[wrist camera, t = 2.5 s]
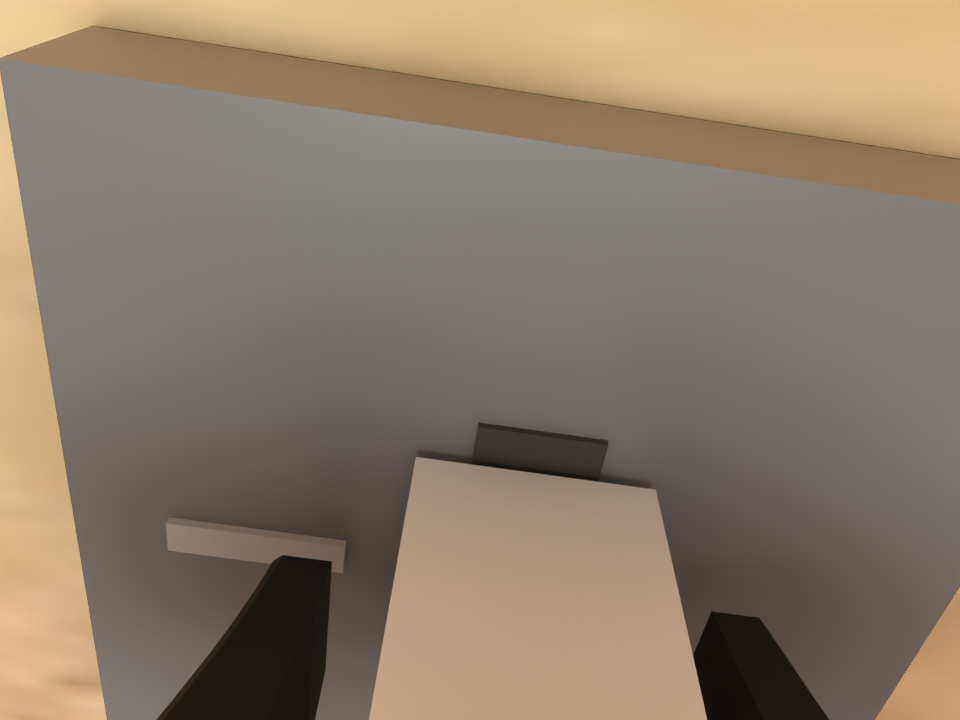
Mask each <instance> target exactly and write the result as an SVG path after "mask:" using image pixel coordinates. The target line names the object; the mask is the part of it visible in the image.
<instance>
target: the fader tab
mask: <svg viewBox="0 0 960 720" xmlns="http://www.w3.org/2000/svg"><path fill="white" fill-rule="evenodd" d="M369 720H707V716H706V712H705V707H704V703H703V698H702V694H701V689H700V685H699V681H698V676H697V672H696V667H695V663H694V658H693V654H692V649H691V645H690V640H689V636H688V631H687V627H686V622H685V618H684V613H683V609H682V605H681V600H680V596H679V591H678V587H677V582H676V578H675V573H674V569H673V564H672V560H671V555H670V551H669V546H668V542H667V537H666V533H665V529H664V524H663V520H662V515H661V511H660V506H659V502H658V497H657V493H656V490H655V489H647V488H640V487H633V486H625V485H618V484H611V483H603V482H596V481H589V480H581V479H574V478H567V477H560V476H552V475H545V474H538V473H530V472H523V471H516V470H508V469H501V468H494V467H486V466H479V465H472V464H464V463H457V462H450V461H442V460H435V459H428V458H420V457H416V459H415V464H414V470H413V475H412V481H411V487H410V492H409V498H408V503H407V509H406V515H405V520H404V526H403V532H402V537H401V543H400V548H399V554H398V560H397V565H396V571H395V576H394V582H393V588H392V593H391V599H390V604H389V610H388V616H387V621H386V627H385V632H384V638H383V644H382V649H381V655H380V660H379V666H378V672H377V677H376V683H375V688H374V694H373V700H372V705H371V711H370V716H369Z"/></svg>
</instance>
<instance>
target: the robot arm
mask: <svg viewBox="0 0 960 720" xmlns="http://www.w3.org/2000/svg"><path fill="white" fill-rule="evenodd" d="M331 570H332V561H325V560H317V559H309V558H302V557H294V556H287V555H282V556H280V557H278V558H277V559H275V560H273V562H272V563H271V565H270V567H269V568H268V570H267V572H266V573H265V575H264V577H263V578H262V580H261V581H260V583H259V584H258V586H257V587H256V589H255V591H254V592H253V594H252V595H251V597H250V598H249V600H248V601H247V602H246V604H245V605H244V607H243V608H242V610H241V611H240V613H239V614H238V615H237V617H236V618H235V620H234V621H233V622H232V624H231V625H230V626H229V628H228V629H227V631H226V632H225V633H224V635H223V636H222V637H221V639H220V640H219V641H218V643H217V644H216V645H215V647H214V648H213V649H212V651H211V652H210V653H209V655H208V656H207V657H206V658H205V660H204V661H203V662H202V663H201V665H200V666H199V667H198V668H197V670H196V671H195V672H194V674H193V675H192V676H191V677H190V679H189V680H188V681H187V682H186V684H185V685H184V686H183V687H182V689H181V690H180V691H179V692H178V694H177V695H176V696H175V697H174V699H173V700H172V701H171V702H170V704H169V705H168V706H167V707H166V709H165V710H164V711H163V712H162V713H161V714H160V716H159V717H158V718H157V719H156V720H315V718H316V713H317V708H318V703H319V699H320V694H321V689H322V684H323V680H324V675H325V670H326V653H327V636H328V620H329V603H330V587H331ZM693 658H694V663H695V667H696V672H697V676H698V681H699V685H700V689H701V694H702V698H703V703H704V707H705V712H706V716H707V720H829V718H828V717H827V715H826V714H825V713H824V711H823V710H822V708H821V707H820V705H819V704H818V702H817V701H816V699H815V698H814V697H813V695H812V694H811V692H810V691H809V689H808V688H807V686H806V685H805V683H804V682H803V680H802V679H801V678H800V676H799V675H798V673H797V672H796V670H795V669H794V667H793V666H792V664H791V663H790V661H789V660H788V658H787V657H786V655H785V654H784V652H783V651H782V650H781V648H780V647H779V645H778V644H777V642H776V641H775V639H774V638H773V636H772V635H771V634H770V632H769V631H768V629H767V628H766V626H765V625H764V623H763V622H762V621H761V619H760V618H758V617H751V616H743V615H735V614H728V613H720V612H713V611H711V614H710V616H709V618H708V621H707V623H706V626H705V628H704V630H703V633H702V635H701V637H700V640H699V642H698V645H697V647H696V649H695V652H694V654H693Z"/></svg>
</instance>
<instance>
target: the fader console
mask: <svg viewBox="0 0 960 720" xmlns="http://www.w3.org/2000/svg"><path fill="white" fill-rule="evenodd" d="M0 73H1V79H2V85H3V91H4V97H5V103H6V109H7V115H8V121H9V127H10V133H11V139H12V145H13V152H14V158H15V164H16V170H17V176H18V182H19V188H20V194H21V200H22V206H23V212H24V218H25V224H26V230H27V236H28V242H29V248H30V254H31V261H32V267H33V273H34V279H35V285H36V291H37V297H38V303H39V309H40V315H41V321H42V327H43V333H44V339H45V345H46V351H47V357H48V364H49V370H50V376H51V382H52V388H53V394H54V400H55V406H56V412H57V418H58V424H59V430H60V436H61V442H62V448H63V454H64V460H65V466H66V473H67V479H68V485H69V491H70V497H71V503H72V509H73V515H74V521H75V527H76V533H77V539H78V545H79V551H80V557H81V563H82V569H83V575H84V582H85V588H86V594H87V600H88V606H89V612H90V618H91V624H92V630H93V636H94V642H95V648H96V654H97V660H98V666H99V672H100V678H101V685H102V691H103V697H104V703H105V709H106V715H107V720H156V719H157V718H158V717H159V716H160V714H161V713H162V712H163V711H164V710H165V709H166V707H167V706H168V705H169V704H170V702H171V701H172V700H173V699H174V697H175V696H176V695H177V694H178V692H179V691H180V690H181V689H182V687H183V686H184V685H185V684H186V682H187V681H188V680H189V679H190V677H191V676H192V675H193V674H194V672H195V671H196V670H197V668H198V667H199V666H200V665H201V663H202V662H203V661H204V660H205V658H206V657H207V656H208V655H209V653H210V652H211V651H212V649H213V648H214V647H215V645H216V644H217V643H218V641H219V640H220V639H221V637H222V636H223V635H224V633H225V632H226V631H227V629H228V628H229V626H230V625H231V624H232V622H233V621H234V620H235V618H236V617H237V615H238V614H239V613H240V611H241V610H242V608H243V607H244V605H245V604H246V602H247V601H248V600H249V598H250V597H251V595H252V594H253V592H254V591H255V589H256V587H257V586H258V584H259V583H260V581H261V580H262V578H263V577H264V575H265V573H266V572H267V570H268V568H269V567H270V565H271V563H272V562H273V560H275V559H277V558H278V557H280V556H282V555H287V556H294V557H302V558H309V559H317V560H325V561H332V570H331V587H330V603H329V620H328V636H327V653H326V670H325V675H324V680H323V684H322V689H321V694H320V699H319V703H318V708H317V713H316V718H315V720H369V716H370V711H371V705H372V700H373V694H374V688H375V683H376V677H377V672H378V666H379V660H380V655H381V649H382V644H383V638H384V632H385V627H386V621H387V616H388V610H389V604H390V599H391V593H392V588H393V582H394V576H395V571H396V565H397V560H398V554H399V548H400V543H401V537H402V532H403V526H404V520H405V515H406V509H407V503H408V498H409V492H410V487H411V481H412V475H413V470H414V464H415V459H416V457H420V458H428V459H435V460H442V461H450V462H457V463H464V464H472V465H479V466H486V467H494V468H501V469H508V470H516V471H523V472H530V473H538V474H545V475H552V476H560V477H567V478H574V479H581V480H589V481H596V482H603V483H611V484H618V485H625V486H633V487H640V488H647V489H655V490H656V493H657V497H658V502H659V506H660V511H661V515H662V520H663V524H664V529H665V533H666V537H667V542H668V546H669V551H670V555H671V560H672V564H673V569H674V573H675V578H676V582H677V587H678V591H679V596H680V600H681V605H682V609H683V613H684V618H685V622H686V627H687V631H688V636H689V640H690V645H691V649H692V654H694V652H695V649H696V647H697V645H698V642H699V640H700V637H701V635H702V633H703V630H704V628H705V626H706V623H707V621H708V618H709V616H710V614H711V611H713V612H720V613H728V614H735V615H743V616H751V617H758V618H760V619H761V621H762V622H763V623H764V625H765V626H766V628H767V629H768V631H769V632H770V634H771V635H772V636H773V638H774V639H775V641H776V642H777V644H778V645H779V647H780V648H781V650H782V651H783V652H784V654H785V655H786V657H787V658H788V660H789V661H790V663H791V664H792V666H793V667H794V669H795V670H796V672H797V673H798V675H799V676H800V678H801V679H802V680H803V682H804V683H805V685H806V686H807V688H808V689H809V691H810V692H811V694H812V695H813V697H814V698H815V699H816V701H817V702H818V704H819V705H820V707H821V708H822V710H823V711H824V713H825V714H826V715H827V717H828V718H829V720H875V718H876V717H877V715H878V714H879V712H880V711H881V709H882V708H883V706H884V704H885V703H886V701H887V700H888V698H889V697H890V695H891V693H892V692H893V690H894V689H895V687H896V686H897V684H898V682H899V681H900V679H901V678H902V676H903V675H904V673H905V672H906V670H907V668H908V667H909V665H910V664H911V662H912V661H913V659H914V657H915V656H916V654H917V653H918V651H919V650H920V648H921V646H922V645H923V643H924V642H925V640H926V639H927V637H928V635H929V634H930V632H931V631H932V629H933V628H934V626H935V625H936V623H937V621H938V620H939V618H940V617H941V615H942V614H943V612H944V610H945V609H946V607H947V606H948V604H949V603H950V601H951V599H952V598H953V596H954V595H955V593H956V592H957V590H958V589H959V587H960V159H953V158H947V157H940V156H934V155H927V154H921V153H914V152H908V151H901V150H895V149H888V148H882V147H875V146H869V145H862V144H856V143H849V142H843V141H836V140H830V139H823V138H817V137H810V136H804V135H797V134H791V133H784V132H778V131H771V130H765V129H758V128H752V127H745V126H739V125H732V124H726V123H719V122H713V121H706V120H700V119H693V118H687V117H680V116H674V115H667V114H661V113H654V112H648V111H641V110H635V109H628V108H622V107H615V106H609V105H602V104H596V103H589V102H583V101H576V100H570V99H563V98H557V97H550V96H544V95H537V94H531V93H524V92H518V91H511V90H505V89H498V88H492V87H485V86H479V85H472V84H466V83H459V82H453V81H446V80H440V79H433V78H427V77H420V76H414V75H407V74H401V73H394V72H388V71H381V70H375V69H368V68H362V67H355V66H349V65H342V64H336V63H329V62H323V61H316V60H310V59H303V58H297V57H290V56H284V55H277V54H271V53H264V52H258V51H251V50H245V49H238V48H232V47H225V46H219V45H212V44H206V43H199V42H193V41H186V40H180V39H173V38H167V37H160V36H154V35H147V34H141V33H134V32H128V31H121V30H115V29H108V28H102V27H95V26H91V27H88V28H85V29H82V30H79V31H76V32H73V33H70V34H68V35H65V36H62V37H59V38H56V39H53V40H50V41H47V42H44V43H42V44H39V45H36V46H33V47H30V48H27V49H24V50H21V51H18V52H16V53H13V54H10V55H7V56H4V57H1V58H0Z"/></svg>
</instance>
